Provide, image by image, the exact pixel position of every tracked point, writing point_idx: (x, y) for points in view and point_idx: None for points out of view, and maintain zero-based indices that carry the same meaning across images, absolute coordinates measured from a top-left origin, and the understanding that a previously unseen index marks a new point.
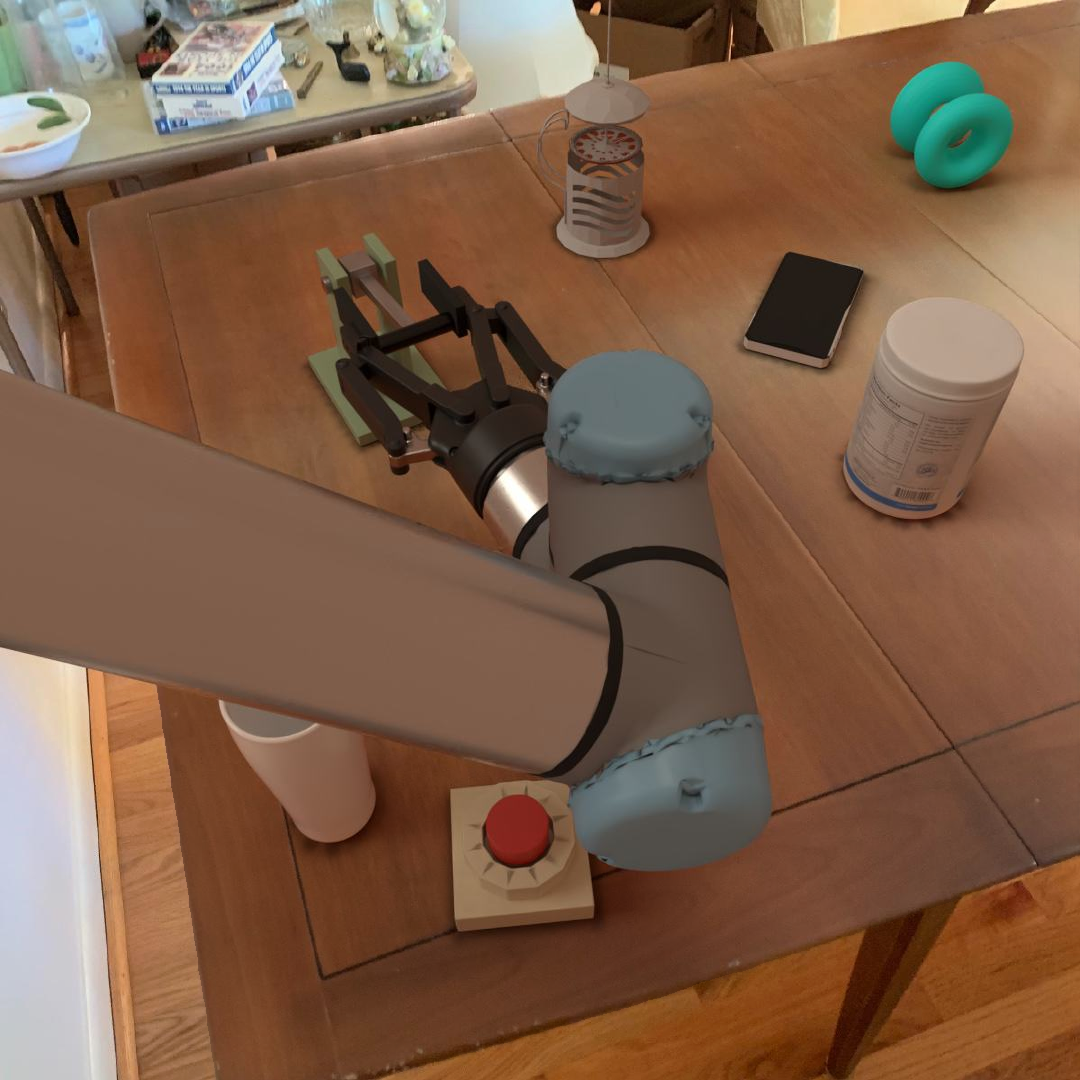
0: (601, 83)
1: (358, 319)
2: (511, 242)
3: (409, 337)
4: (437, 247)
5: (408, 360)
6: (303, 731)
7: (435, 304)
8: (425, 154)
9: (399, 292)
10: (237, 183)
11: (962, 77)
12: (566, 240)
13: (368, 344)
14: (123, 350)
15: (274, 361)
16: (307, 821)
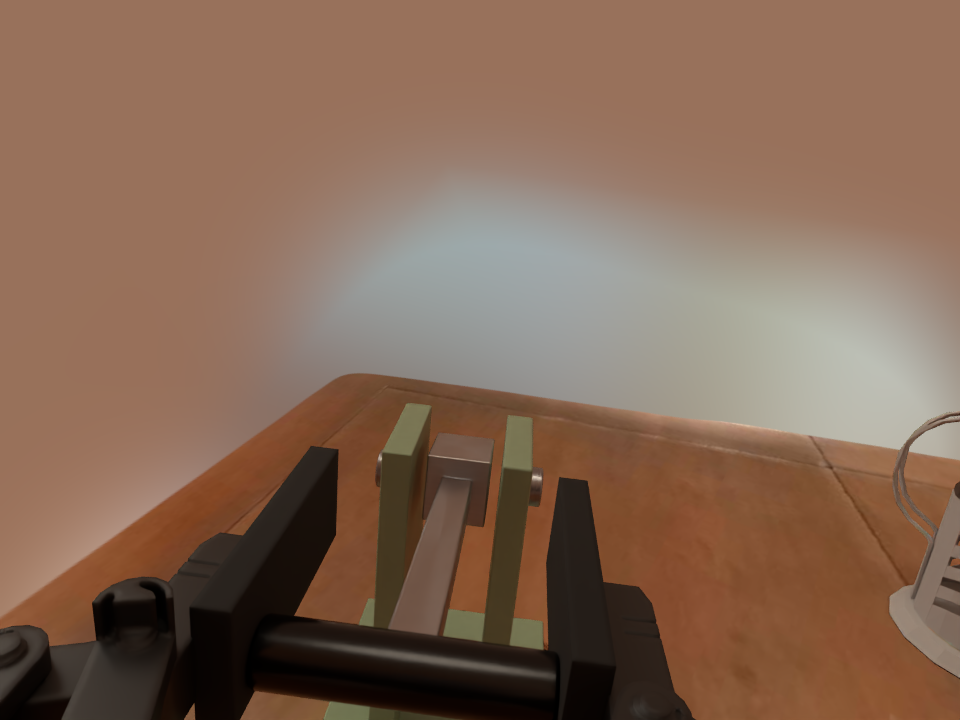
0: None
1: (258, 532)
2: (799, 585)
3: (372, 676)
4: (674, 541)
5: None
6: None
7: (550, 611)
8: (709, 442)
9: (518, 549)
10: (489, 394)
11: None
12: (909, 626)
13: (168, 626)
14: (204, 479)
15: (332, 582)
16: None
